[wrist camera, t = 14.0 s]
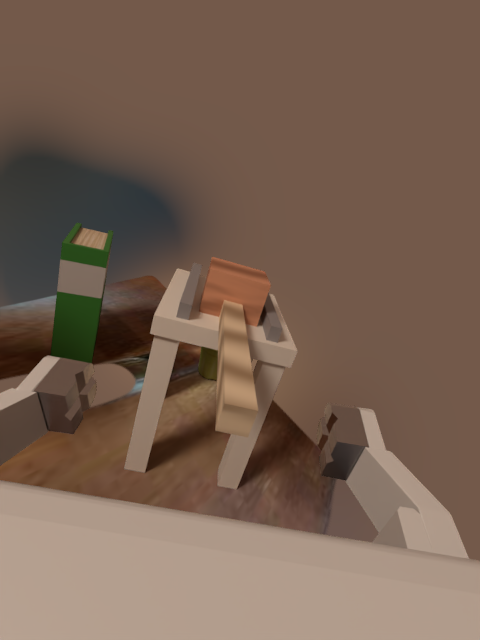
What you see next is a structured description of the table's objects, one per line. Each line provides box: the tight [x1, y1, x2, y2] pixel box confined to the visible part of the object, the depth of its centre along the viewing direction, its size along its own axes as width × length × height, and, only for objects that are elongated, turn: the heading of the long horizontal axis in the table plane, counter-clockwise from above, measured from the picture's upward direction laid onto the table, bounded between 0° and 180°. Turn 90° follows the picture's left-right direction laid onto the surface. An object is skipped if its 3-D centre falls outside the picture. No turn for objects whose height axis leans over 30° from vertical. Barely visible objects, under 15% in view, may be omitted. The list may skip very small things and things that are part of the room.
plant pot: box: [198, 347, 218, 380], centre depth 78 cm, size 9×9×9 cm
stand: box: [124, 263, 297, 489], centre depth 56 cm, size 22×18×27 cm
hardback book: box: [51, 223, 113, 363], centre depth 71 cm, size 18×7×24 cm, turn 16°
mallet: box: [199, 257, 271, 437], centre depth 38 cm, size 29×8×6 cm, turn 3°
